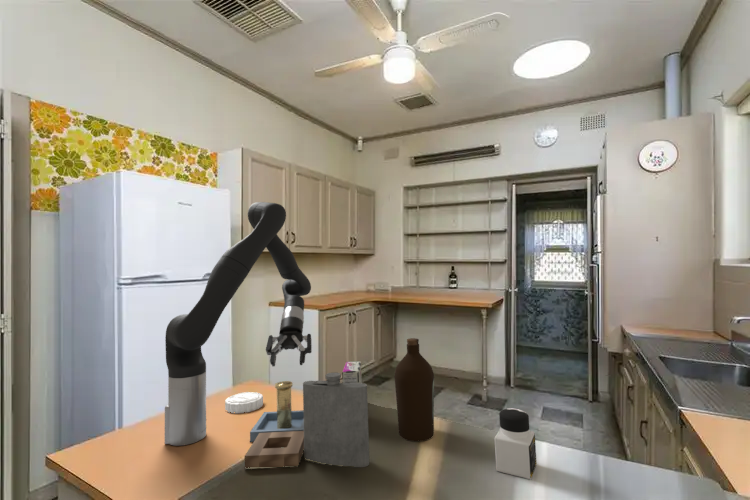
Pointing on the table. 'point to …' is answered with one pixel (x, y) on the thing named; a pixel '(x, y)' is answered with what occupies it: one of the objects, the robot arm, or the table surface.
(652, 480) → the table surface
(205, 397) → the robot arm
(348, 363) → the candy bar box
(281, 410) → the brass pin
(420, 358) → the olive oil
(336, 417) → the hip flask
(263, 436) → the walnut pin block
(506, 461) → the medicine bottle
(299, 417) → the slate tray
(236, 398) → the mooncake
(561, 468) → the table surface
